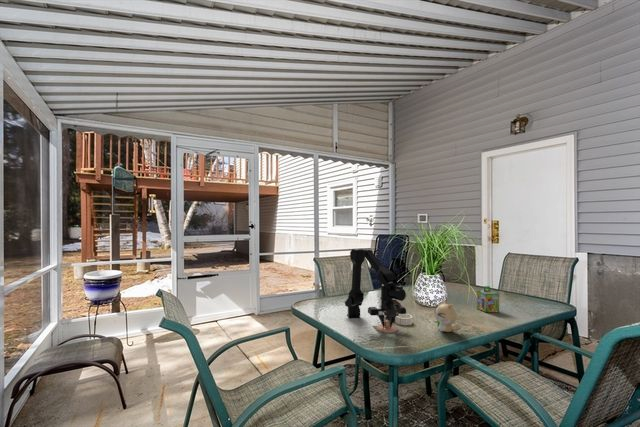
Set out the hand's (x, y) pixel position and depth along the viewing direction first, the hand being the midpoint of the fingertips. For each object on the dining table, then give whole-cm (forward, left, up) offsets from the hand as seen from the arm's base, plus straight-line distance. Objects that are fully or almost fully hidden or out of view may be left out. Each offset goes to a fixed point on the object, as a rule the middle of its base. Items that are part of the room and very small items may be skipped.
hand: (387, 327), depth 159 cm
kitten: (+29, -5, -2) cm, 29 cm away
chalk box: (+74, +23, -2) cm, 77 cm away
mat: (0, 0, -2) cm, 2 cm away
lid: (0, 0, -1) cm, 1 cm away
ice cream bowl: (+14, +27, +2) cm, 30 cm away
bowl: (+13, +9, -2) cm, 16 cm away
